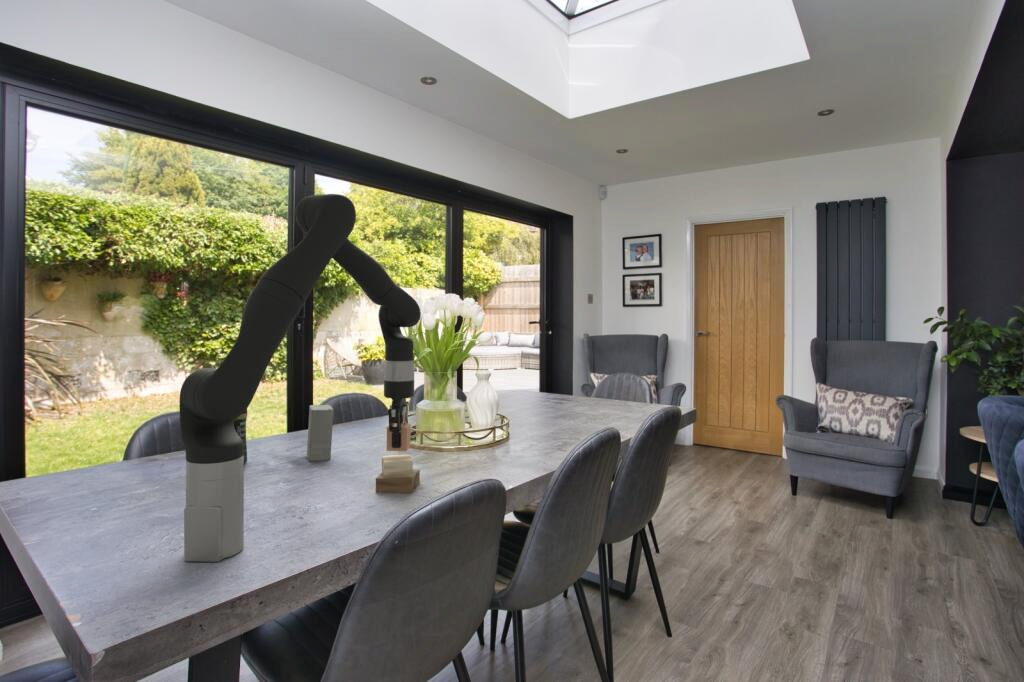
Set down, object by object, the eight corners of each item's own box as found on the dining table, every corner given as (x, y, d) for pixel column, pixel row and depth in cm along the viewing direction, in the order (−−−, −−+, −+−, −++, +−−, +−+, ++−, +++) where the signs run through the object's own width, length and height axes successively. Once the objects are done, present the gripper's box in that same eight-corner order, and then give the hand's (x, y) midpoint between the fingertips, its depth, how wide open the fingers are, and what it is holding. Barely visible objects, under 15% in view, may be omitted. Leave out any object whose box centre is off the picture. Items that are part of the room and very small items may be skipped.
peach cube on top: (406, 451, 138) (406, 427, 137) (386, 450, 138) (386, 427, 137) (410, 446, 143) (410, 423, 142) (391, 446, 143) (391, 423, 142)
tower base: (411, 495, 136) (411, 479, 136) (375, 494, 136) (375, 478, 136) (419, 484, 145) (419, 469, 145) (385, 483, 145) (385, 468, 145)
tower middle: (412, 476, 138) (412, 460, 138) (383, 478, 136) (384, 462, 136) (409, 469, 145) (409, 454, 144) (381, 471, 143) (381, 455, 142)
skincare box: (306, 455, 172) (306, 405, 171) (330, 453, 175) (330, 403, 174) (308, 462, 164) (308, 409, 163) (333, 460, 167) (334, 407, 166)
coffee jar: (232, 471, 153) (232, 404, 152) (205, 469, 154) (205, 403, 153) (252, 462, 163) (252, 399, 162) (227, 461, 164) (227, 398, 163)
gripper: (408, 381, 132) (408, 452, 133) (418, 375, 147) (418, 439, 147) (377, 381, 132) (377, 451, 133) (390, 375, 147) (390, 439, 147)
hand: (398, 444), depth 140 cm, fingers closed on peach cube on top, 5 cm apart
